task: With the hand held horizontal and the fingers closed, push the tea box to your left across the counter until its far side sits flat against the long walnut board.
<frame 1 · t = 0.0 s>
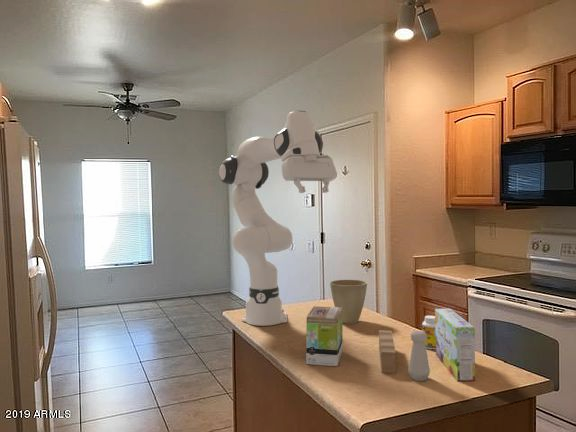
hand: (314, 192, 157), 52 cm above the counter, tool tilted 20°, fingers open, 8 cm apart
plant pot: (348, 321, 190), on the counter
tea box: (325, 358, 147), on the counter
snack box: (453, 368, 137), on the counter
salt shaker: (418, 379, 129), on the counter
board: (386, 359, 144), on the counter
supplement bottle: (430, 348, 156), on the counter
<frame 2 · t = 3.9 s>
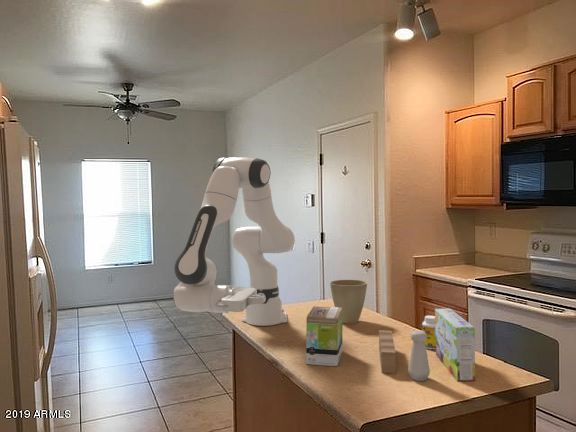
hand: (264, 299, 150), 18 cm above the counter, tool horizontal, fingers closed
nothing on the counter moved.
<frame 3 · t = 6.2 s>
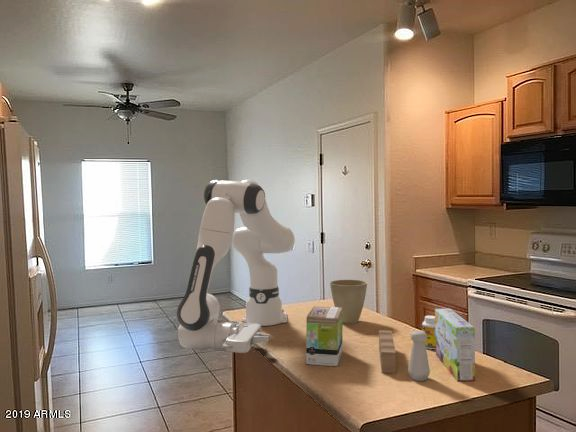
hand: (269, 338, 150), 5 cm above the counter, tool horizontal, fingers closed
nothing on the counter moved.
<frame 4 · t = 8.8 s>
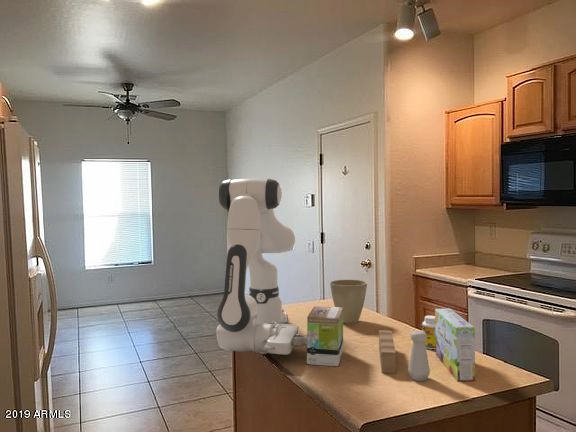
hand: (309, 339, 148), 5 cm above the counter, tool horizontal, fingers closed
tea box: (325, 358, 147), on the counter, touching gripper
everything else where it was.
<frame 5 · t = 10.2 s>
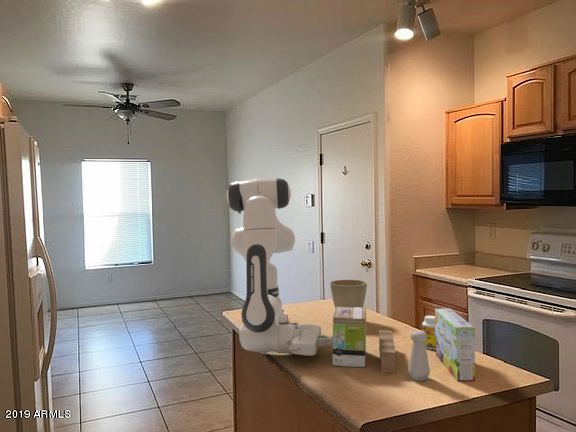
hand: (333, 340, 147), 6 cm above the counter, tool horizontal, fingers closed, pressing on tea box
tea box: (349, 359, 146), on the counter, touching gripper
everything else where it was.
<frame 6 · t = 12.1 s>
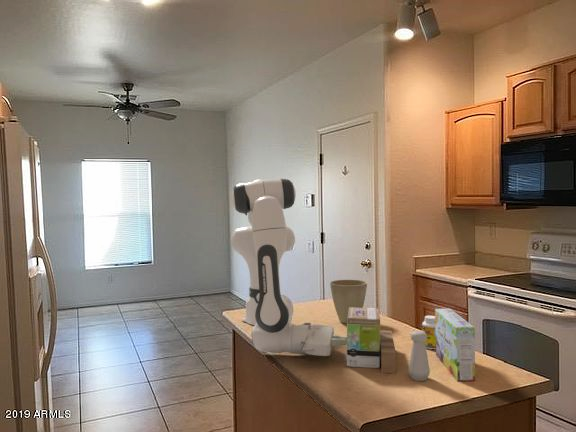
hand: (347, 340, 146), 6 cm above the counter, tool horizontal, fingers closed, pressing on tea box
tea box: (363, 360, 145), on the counter, touching gripper
everything else where it was.
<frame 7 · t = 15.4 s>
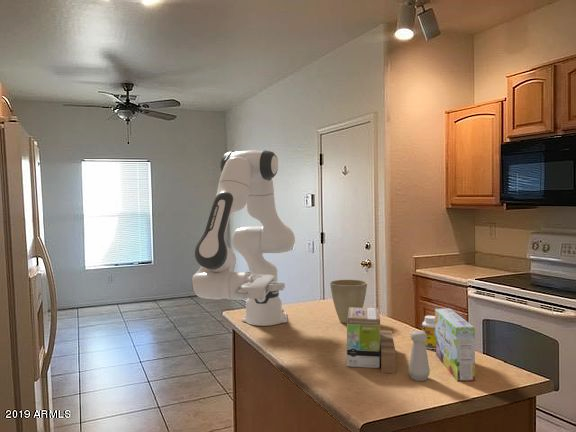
hand: (284, 286, 149), 22 cm above the counter, tool horizontal, fingers closed
tea box: (363, 360, 145), on the counter
everything else where it was.
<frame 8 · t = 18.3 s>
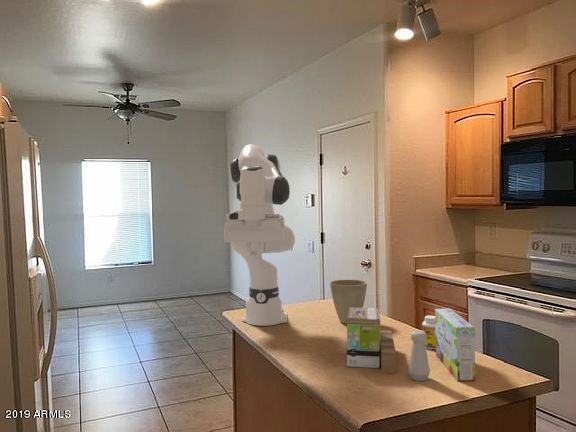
hand: (254, 255, 157), 31 cm above the counter, tool pointing down, fingers closed
nothing on the counter moved.
at the end: tea box inside the target area on the counter beside the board (0.1 cm from its centre), on the counter; tea box tilted 0° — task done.
